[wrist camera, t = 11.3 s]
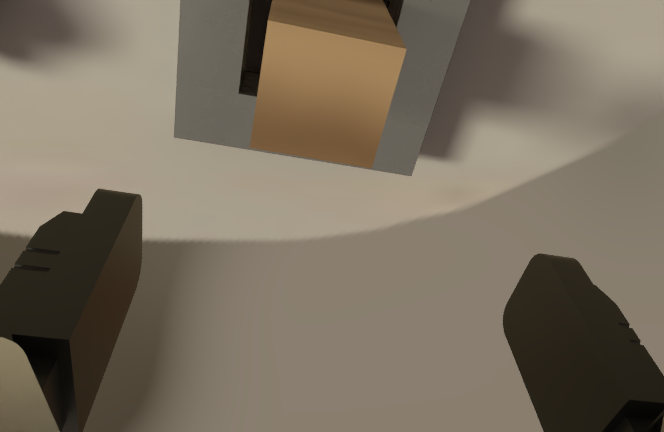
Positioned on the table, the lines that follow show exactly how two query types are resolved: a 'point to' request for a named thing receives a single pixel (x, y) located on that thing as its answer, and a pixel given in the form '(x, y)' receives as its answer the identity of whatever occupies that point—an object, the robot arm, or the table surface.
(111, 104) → the table surface
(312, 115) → the wooden square peg
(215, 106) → the collar
